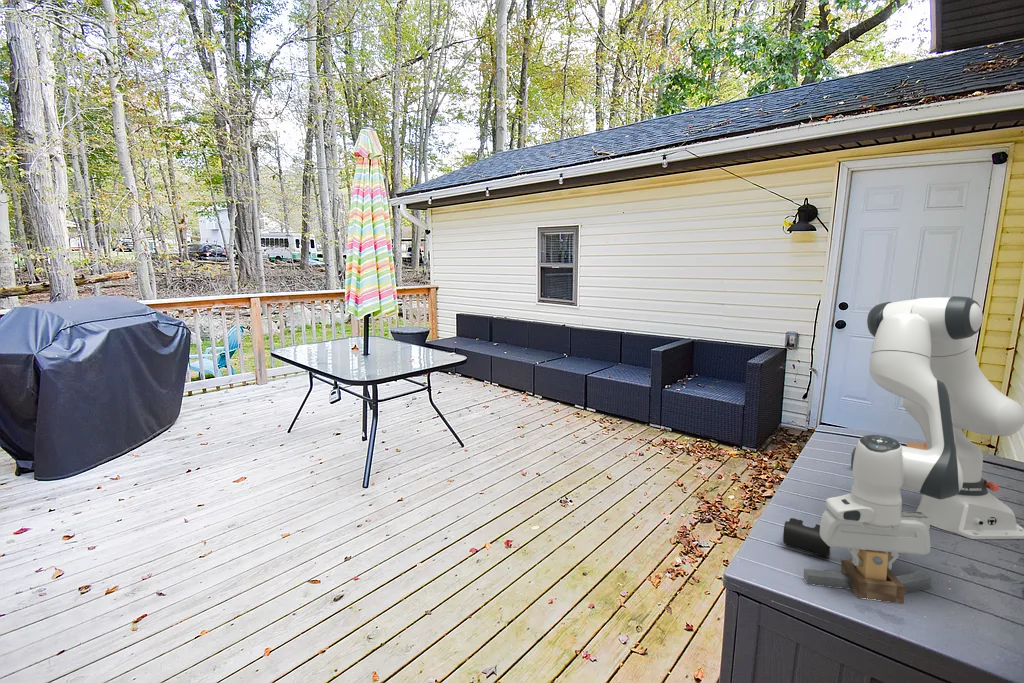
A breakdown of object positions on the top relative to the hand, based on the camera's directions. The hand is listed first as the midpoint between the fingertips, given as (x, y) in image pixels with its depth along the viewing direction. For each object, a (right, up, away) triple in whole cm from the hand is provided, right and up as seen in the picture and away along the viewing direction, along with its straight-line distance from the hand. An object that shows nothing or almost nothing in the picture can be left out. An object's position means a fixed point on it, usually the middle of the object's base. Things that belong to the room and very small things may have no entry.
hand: (871, 566), depth 101 cm
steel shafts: (+1, -5, +2) cm, 6 cm away
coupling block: (0, -3, 0) cm, 3 cm away
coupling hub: (0, -5, +1) cm, 6 cm away
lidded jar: (+70, +5, +63) cm, 95 cm away
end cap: (-4, -4, +16) cm, 17 cm away
